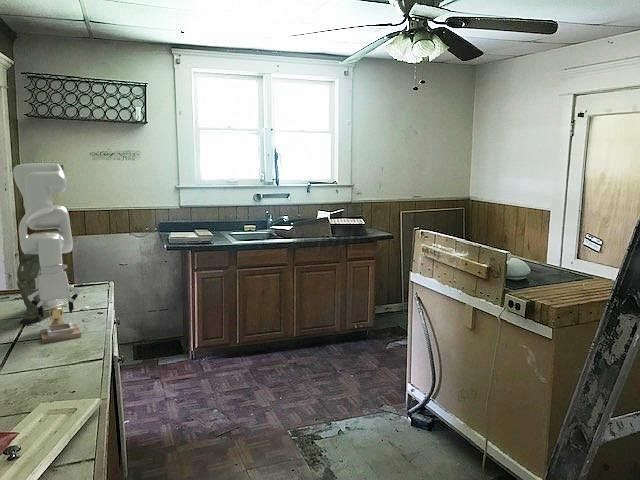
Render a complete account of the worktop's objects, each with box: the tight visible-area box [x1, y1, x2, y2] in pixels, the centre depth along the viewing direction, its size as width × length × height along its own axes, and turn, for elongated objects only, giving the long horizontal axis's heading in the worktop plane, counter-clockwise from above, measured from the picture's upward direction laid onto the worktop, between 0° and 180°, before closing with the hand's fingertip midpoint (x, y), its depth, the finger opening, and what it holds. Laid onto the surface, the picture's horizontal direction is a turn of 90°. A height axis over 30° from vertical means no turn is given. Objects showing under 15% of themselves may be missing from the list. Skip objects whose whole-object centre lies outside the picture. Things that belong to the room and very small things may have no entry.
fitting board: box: [39, 322, 82, 344], centre depth 182 cm, size 11×12×3 cm
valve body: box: [48, 306, 65, 325], centre depth 191 cm, size 4×4×7 cm
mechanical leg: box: [16, 253, 50, 325], centre depth 199 cm, size 14×7×30 cm, turn 168°
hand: (56, 314), depth 191 cm, fingers open, 9 cm apart
